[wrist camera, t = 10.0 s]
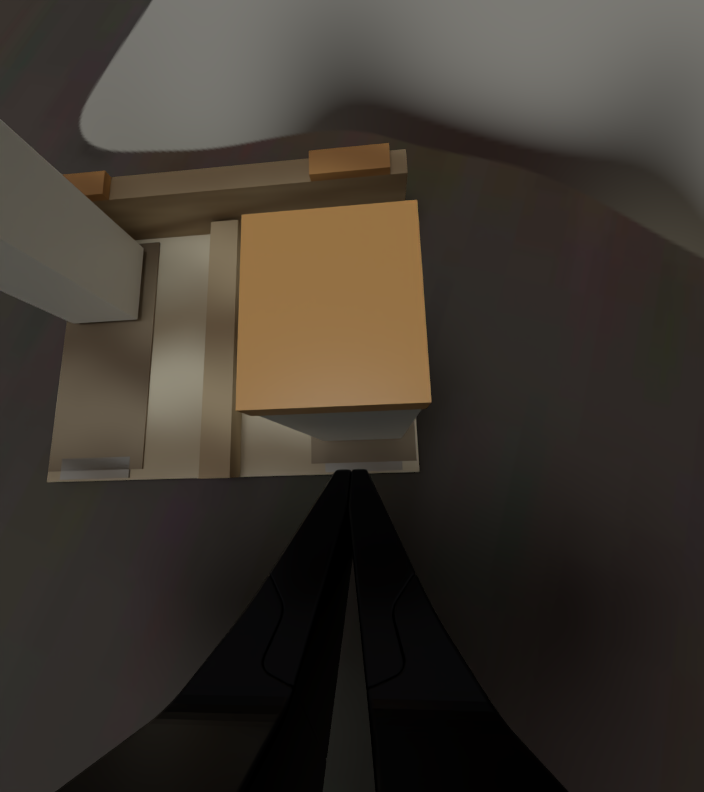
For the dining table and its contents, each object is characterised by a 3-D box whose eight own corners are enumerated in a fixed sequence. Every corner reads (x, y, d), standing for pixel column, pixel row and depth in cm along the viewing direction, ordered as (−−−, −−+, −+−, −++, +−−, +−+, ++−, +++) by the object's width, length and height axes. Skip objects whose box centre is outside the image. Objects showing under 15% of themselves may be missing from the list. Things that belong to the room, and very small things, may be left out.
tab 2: (402, 439, 16) (430, 402, 6) (323, 442, 17) (235, 410, 7) (397, 351, 17) (417, 199, 7) (321, 355, 17) (241, 214, 8)
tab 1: (138, 320, 18) (-138, 158, 9) (72, 324, 19) (-268, 172, 9) (144, 247, 19) (-102, 22, 9) (80, 252, 20) (-224, 39, 10)
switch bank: (417, 471, 17) (428, 473, 13) (61, 481, 19) (-31, 486, 14) (401, 208, 20) (406, 141, 16) (90, 234, 21) (19, 179, 17)
